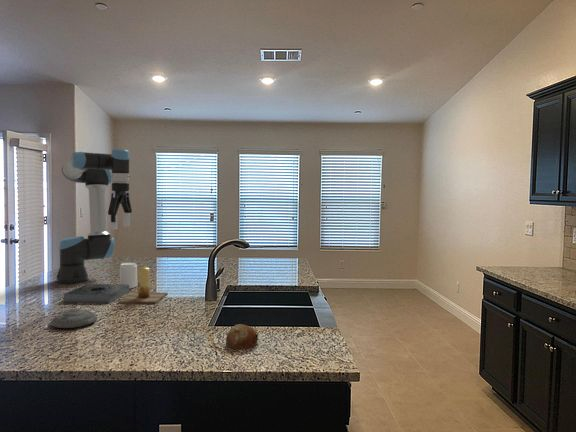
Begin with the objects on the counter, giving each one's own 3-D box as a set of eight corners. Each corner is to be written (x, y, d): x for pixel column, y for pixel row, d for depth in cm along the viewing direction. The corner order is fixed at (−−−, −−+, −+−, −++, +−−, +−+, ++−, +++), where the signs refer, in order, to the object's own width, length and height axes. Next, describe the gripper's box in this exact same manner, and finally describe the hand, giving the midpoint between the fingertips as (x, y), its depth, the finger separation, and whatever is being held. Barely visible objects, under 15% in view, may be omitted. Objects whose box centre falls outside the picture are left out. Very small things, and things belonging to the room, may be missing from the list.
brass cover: (140, 295, 181) (140, 266, 180) (151, 295, 181) (151, 267, 180) (136, 298, 176) (136, 269, 175) (147, 298, 176) (147, 269, 175)
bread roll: (232, 348, 132) (222, 327, 131) (260, 335, 132) (250, 314, 132) (231, 361, 122) (219, 338, 121) (261, 346, 123) (250, 323, 122)
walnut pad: (133, 294, 187) (133, 291, 187) (167, 294, 186) (167, 292, 186) (118, 303, 171) (118, 301, 171) (155, 304, 170) (155, 301, 170)
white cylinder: (131, 289, 195) (130, 265, 194) (116, 288, 197) (116, 264, 196) (140, 286, 203) (140, 262, 202) (126, 285, 205) (126, 262, 204)
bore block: (87, 291, 191) (87, 283, 191) (128, 291, 191) (128, 284, 191) (63, 302, 171) (63, 294, 171) (109, 303, 171) (109, 295, 171)
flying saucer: (64, 334, 133) (64, 318, 133) (42, 326, 141) (41, 310, 141) (105, 322, 146) (105, 308, 146) (82, 315, 154) (82, 301, 154)
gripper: (116, 182, 173) (116, 231, 174) (138, 183, 198) (138, 225, 199) (99, 182, 173) (99, 230, 174) (123, 182, 198) (123, 224, 199)
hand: (120, 227), depth 187 cm, fingers open, 13 cm apart
